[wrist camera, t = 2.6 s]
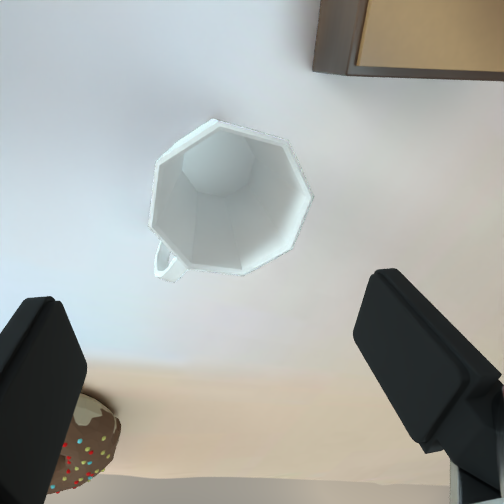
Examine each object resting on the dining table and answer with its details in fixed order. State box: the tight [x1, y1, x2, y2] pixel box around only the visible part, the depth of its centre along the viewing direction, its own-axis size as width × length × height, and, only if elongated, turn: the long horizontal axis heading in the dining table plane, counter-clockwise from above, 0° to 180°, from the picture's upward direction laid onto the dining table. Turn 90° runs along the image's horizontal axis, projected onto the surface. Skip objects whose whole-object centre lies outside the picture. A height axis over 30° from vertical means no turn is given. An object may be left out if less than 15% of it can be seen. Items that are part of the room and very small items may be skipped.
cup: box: [148, 118, 314, 283], centre depth 16 cm, size 7×10×8 cm
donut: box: [47, 393, 121, 494], centre depth 28 cm, size 14×14×5 cm
